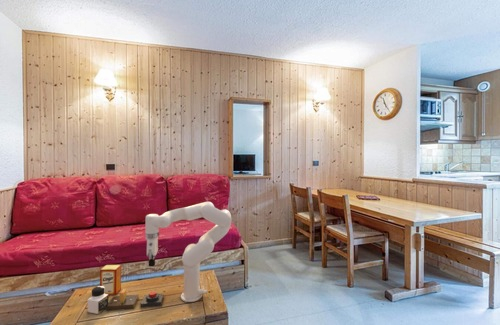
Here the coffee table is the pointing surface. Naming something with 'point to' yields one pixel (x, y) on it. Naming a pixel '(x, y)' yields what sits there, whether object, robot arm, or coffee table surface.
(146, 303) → the box
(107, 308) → the plate
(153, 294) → the door button
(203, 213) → the robot arm
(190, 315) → the coffee table surface
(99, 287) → the medicine bottle
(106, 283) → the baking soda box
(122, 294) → the orange block red tip
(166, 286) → the coffee table surface
